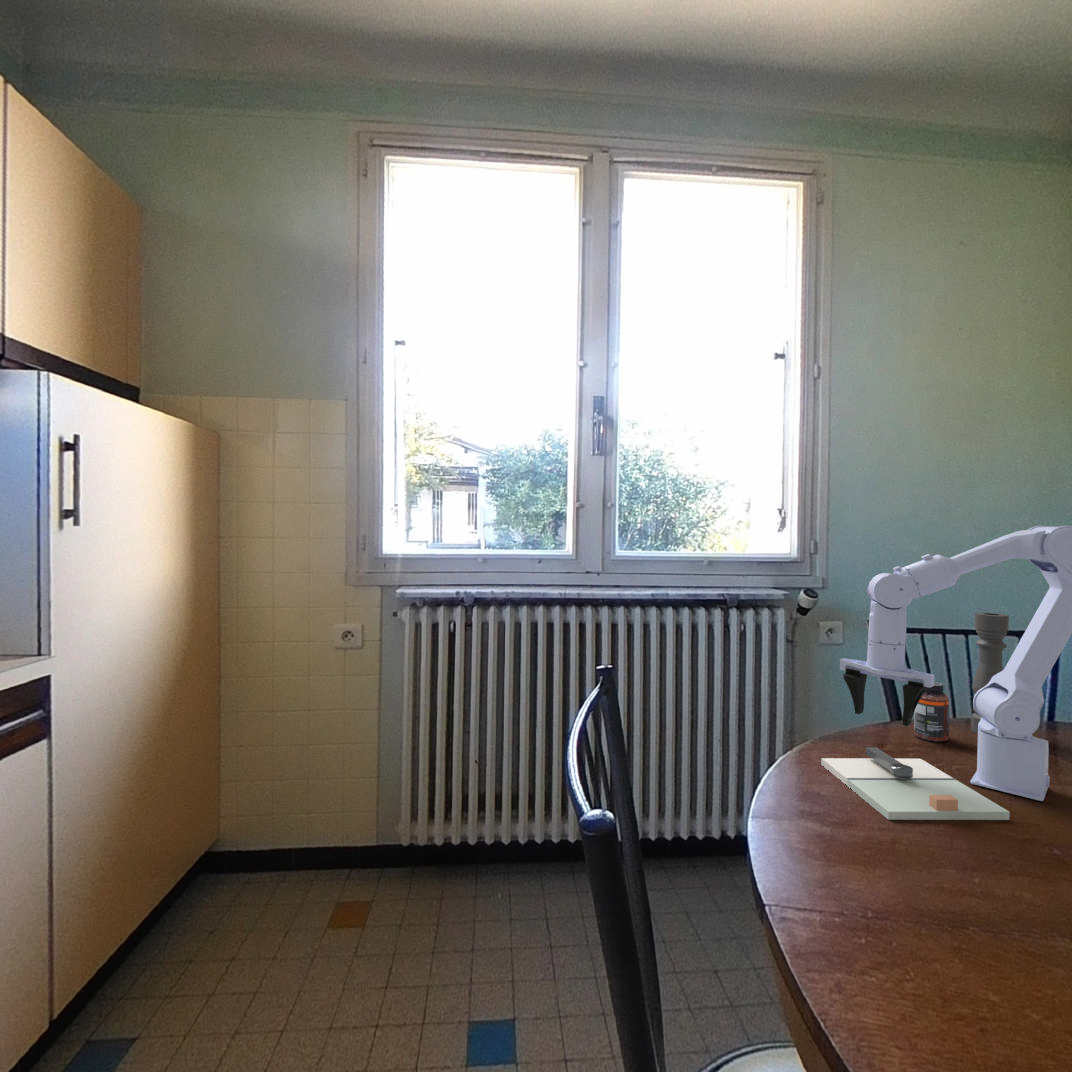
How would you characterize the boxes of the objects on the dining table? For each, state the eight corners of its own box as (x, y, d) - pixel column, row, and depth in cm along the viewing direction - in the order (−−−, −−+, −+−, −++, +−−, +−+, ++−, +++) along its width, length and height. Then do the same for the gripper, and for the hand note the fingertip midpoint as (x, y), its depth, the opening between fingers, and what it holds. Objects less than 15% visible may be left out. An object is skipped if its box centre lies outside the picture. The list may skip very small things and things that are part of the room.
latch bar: (917, 778, 100) (917, 771, 100) (897, 778, 100) (897, 771, 100) (879, 754, 110) (879, 747, 110) (862, 754, 110) (862, 747, 110)
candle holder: (1000, 730, 130) (1003, 613, 129) (1012, 739, 124) (1015, 617, 124) (966, 726, 132) (969, 611, 131) (976, 736, 126) (979, 615, 126)
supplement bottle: (938, 733, 128) (939, 679, 127) (955, 743, 122) (956, 687, 122) (908, 732, 128) (909, 678, 128) (923, 742, 122) (924, 686, 122)
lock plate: (920, 765, 111) (920, 749, 110) (1009, 819, 90) (1009, 801, 90) (821, 764, 110) (821, 749, 110) (888, 819, 90) (888, 800, 90)
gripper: (834, 637, 110) (830, 712, 110) (927, 652, 99) (922, 735, 100) (849, 633, 115) (845, 705, 115) (939, 647, 104) (935, 726, 104)
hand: (882, 718), depth 108 cm, fingers open, 7 cm apart
